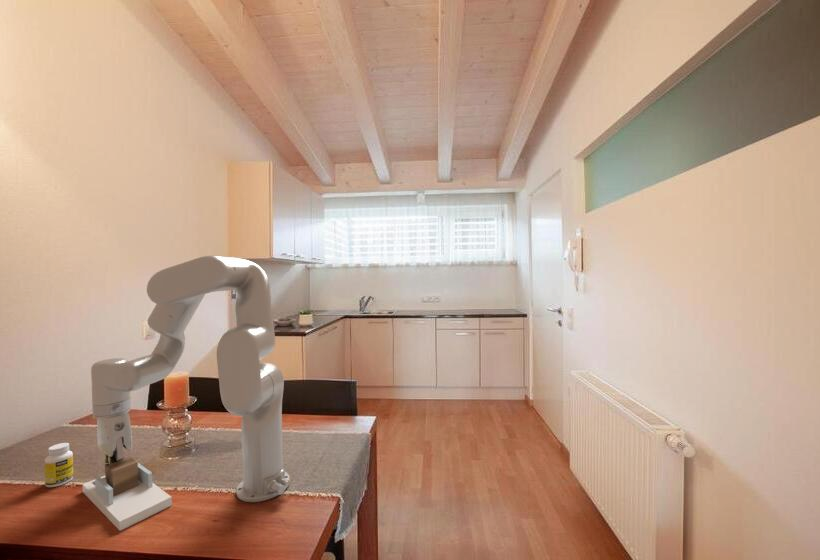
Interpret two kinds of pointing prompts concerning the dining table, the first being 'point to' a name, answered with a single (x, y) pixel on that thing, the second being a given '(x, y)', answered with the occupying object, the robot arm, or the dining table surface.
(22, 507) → the dining table surface
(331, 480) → the dining table surface
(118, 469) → the walnut block
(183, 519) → the dining table surface
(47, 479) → the supplement bottle
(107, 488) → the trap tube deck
